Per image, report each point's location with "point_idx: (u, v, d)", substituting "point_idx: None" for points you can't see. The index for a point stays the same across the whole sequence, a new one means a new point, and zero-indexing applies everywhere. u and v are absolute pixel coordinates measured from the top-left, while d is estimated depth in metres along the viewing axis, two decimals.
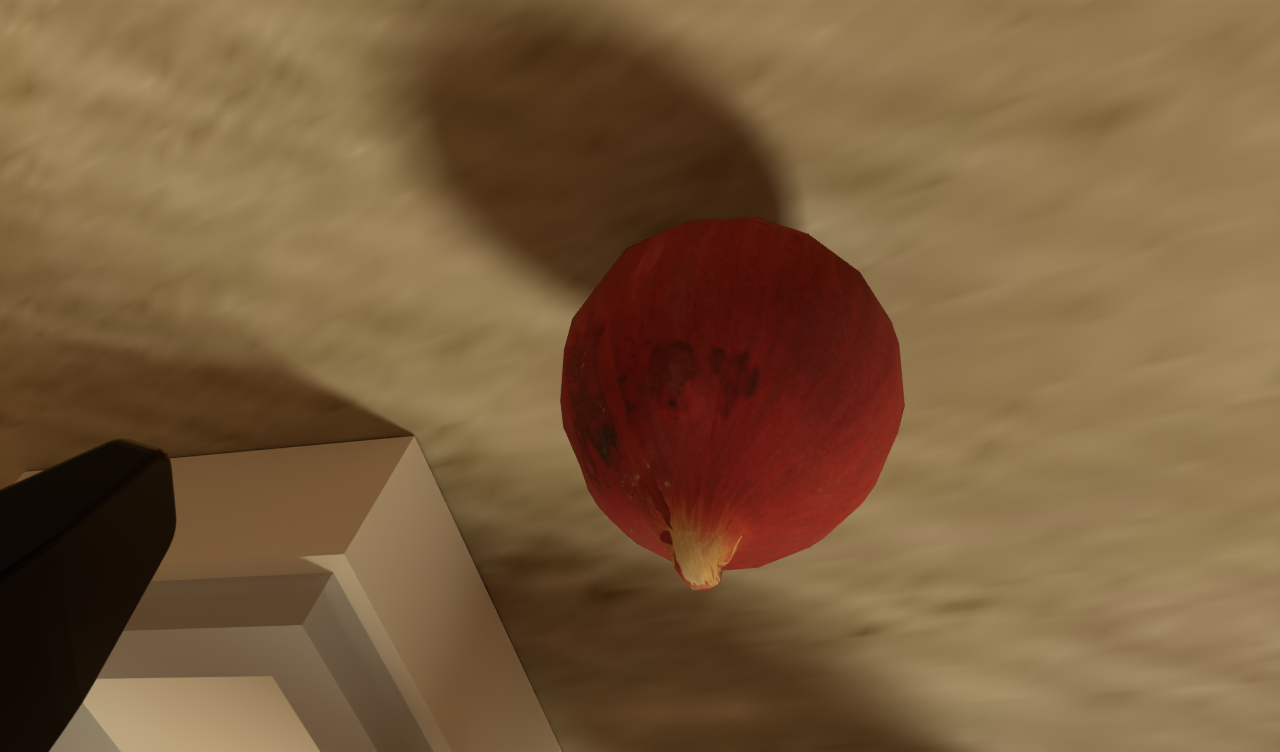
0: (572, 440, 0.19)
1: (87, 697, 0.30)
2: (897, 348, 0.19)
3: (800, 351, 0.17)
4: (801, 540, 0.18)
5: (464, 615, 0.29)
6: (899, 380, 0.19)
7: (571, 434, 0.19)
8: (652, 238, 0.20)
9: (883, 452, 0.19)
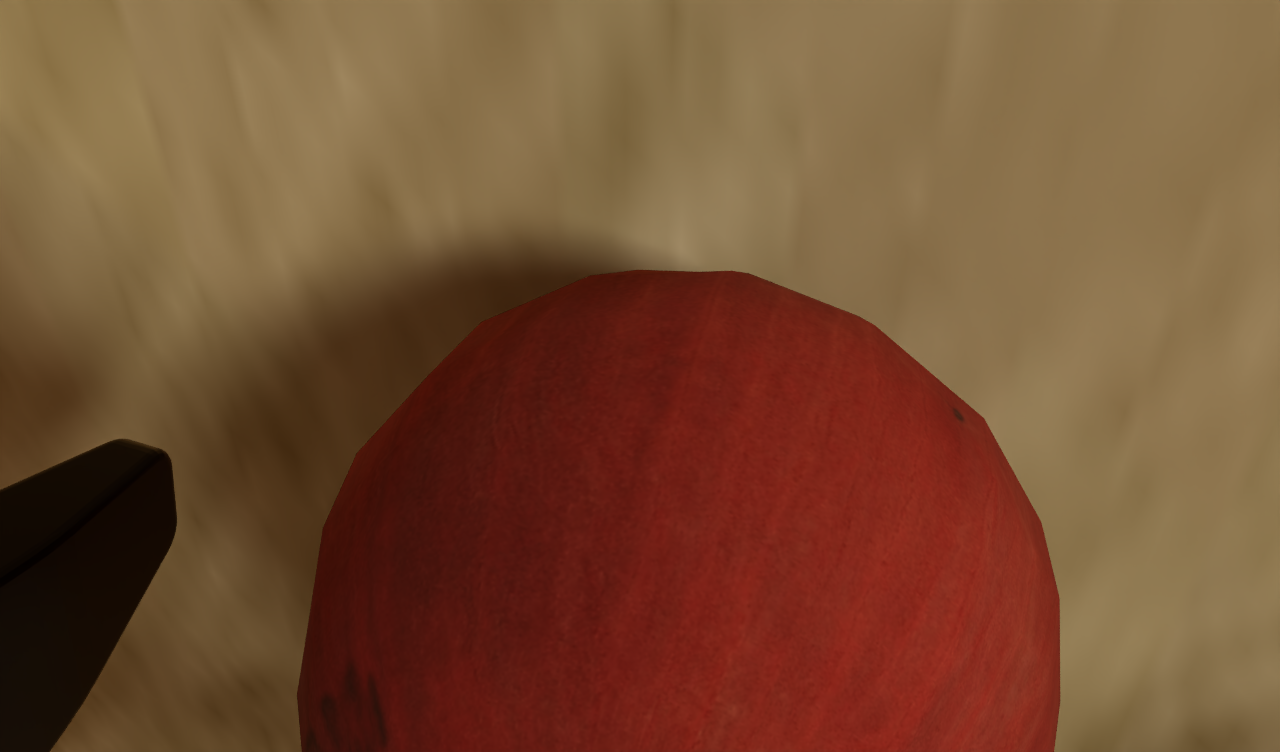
0: None
1: None
2: (704, 319, 0.08)
3: (417, 564, 0.07)
4: None
5: None
6: (776, 357, 0.08)
7: None
8: None
9: (825, 531, 0.07)
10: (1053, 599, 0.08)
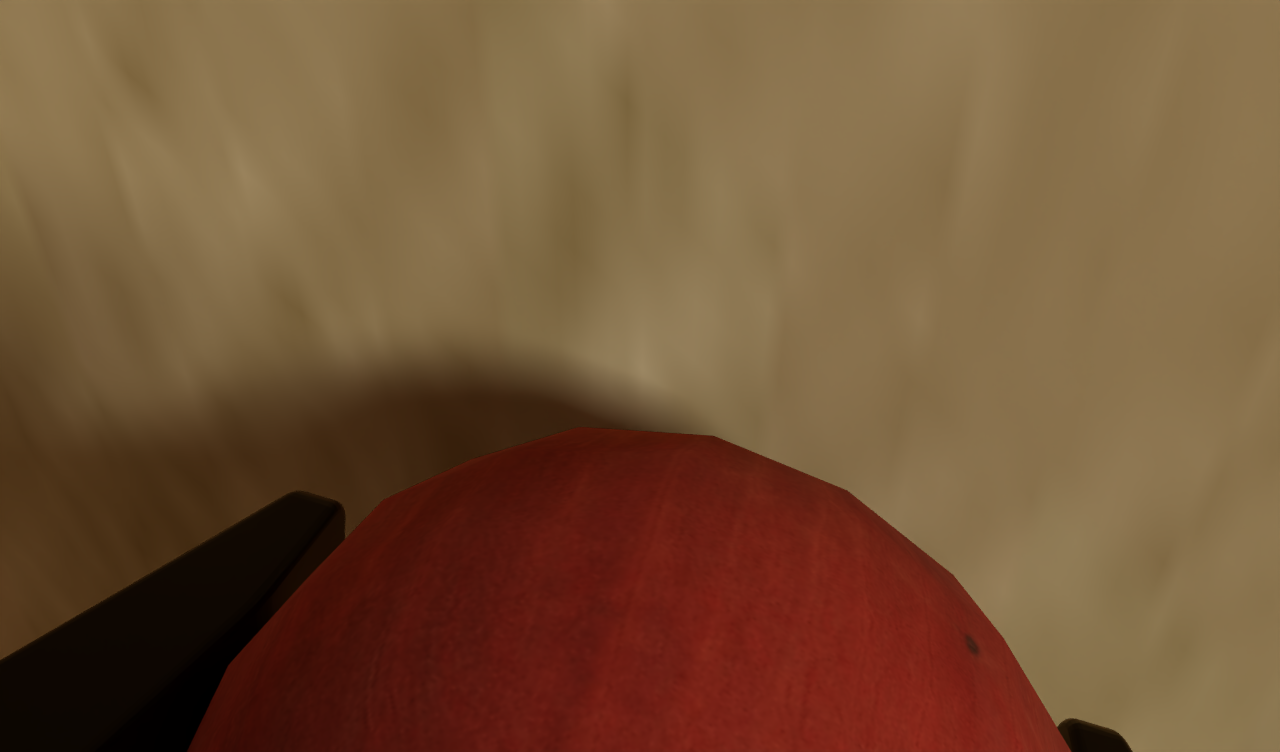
0: None
1: None
2: (646, 540, 0.06)
3: None
4: None
5: None
6: (738, 595, 0.06)
7: None
8: None
9: None
10: None
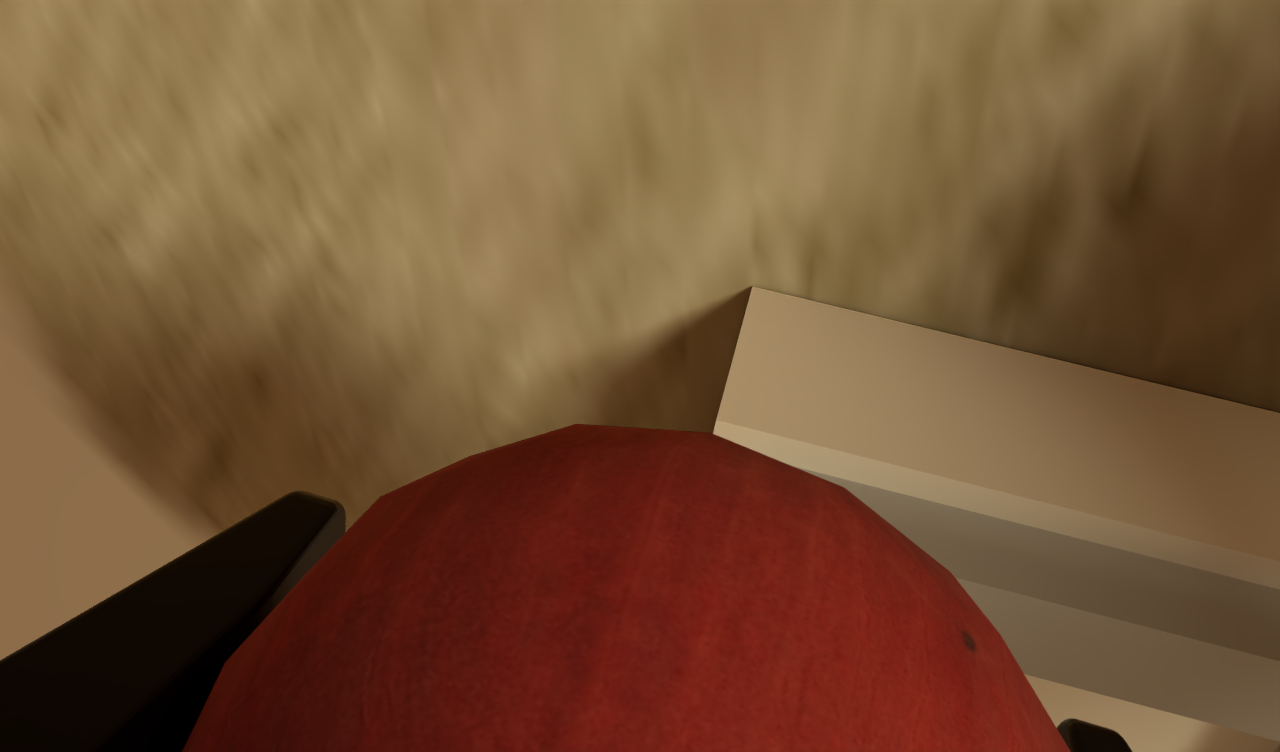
0: None
1: None
2: (643, 537, 0.06)
3: None
4: None
5: (1018, 391, 0.19)
6: (735, 592, 0.06)
7: None
8: None
9: None
10: None
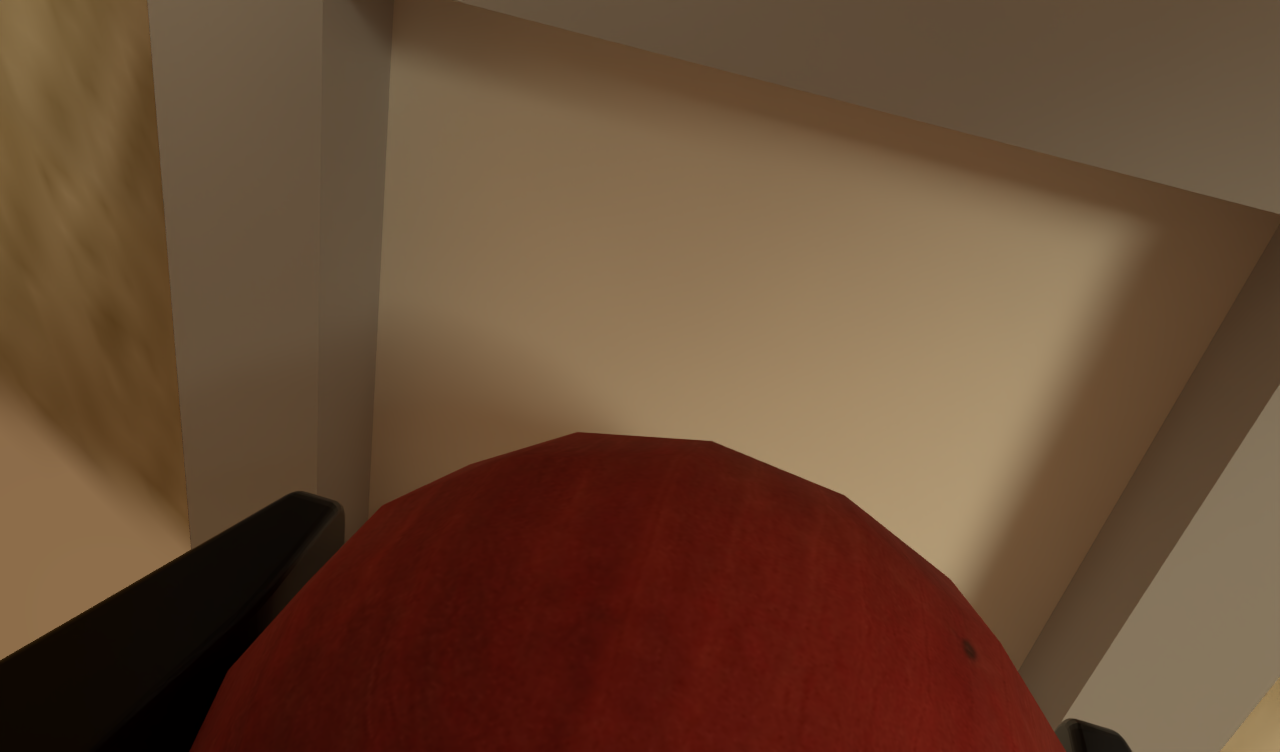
0: None
1: None
2: (645, 547, 0.06)
3: None
4: None
5: None
6: (736, 602, 0.06)
7: None
8: None
9: None
10: None
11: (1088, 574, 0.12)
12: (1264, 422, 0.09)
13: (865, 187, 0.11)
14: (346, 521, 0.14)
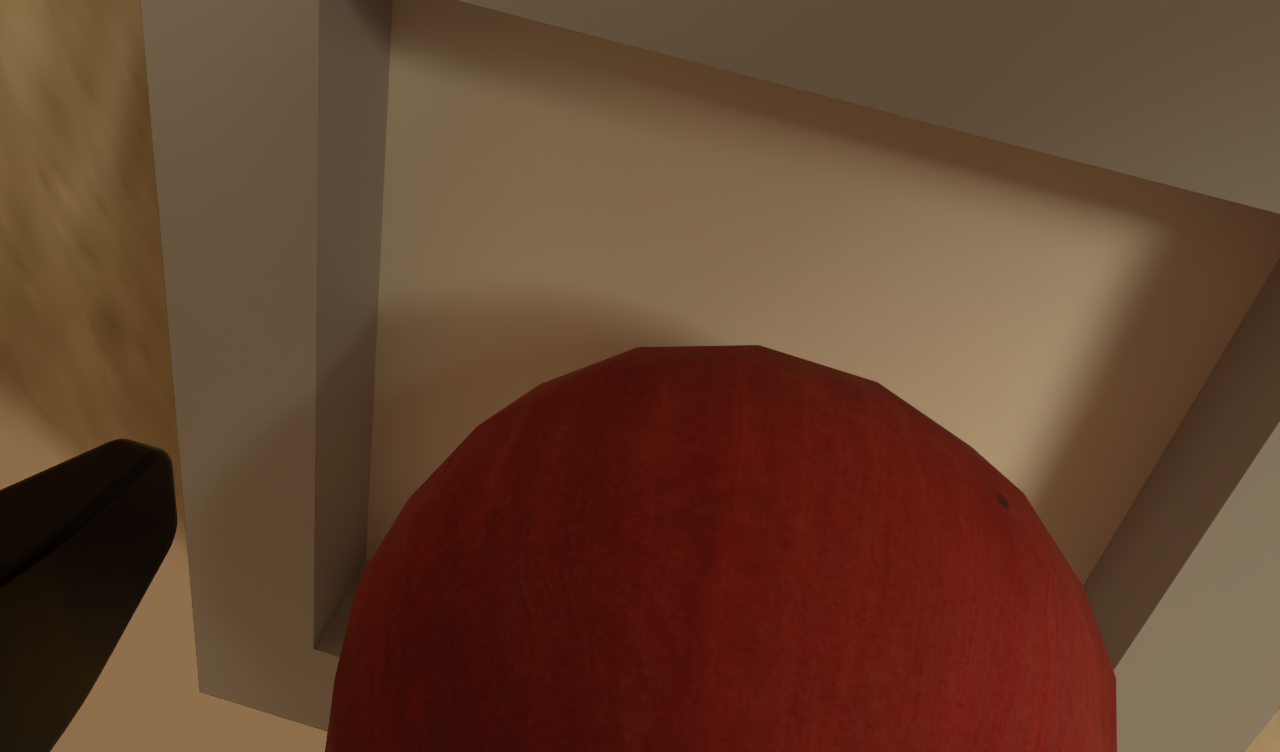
0: None
1: None
2: (736, 438, 0.07)
3: (459, 749, 0.07)
4: None
5: None
6: (818, 476, 0.07)
7: None
8: None
9: (899, 683, 0.06)
10: (1111, 682, 0.08)
11: (1098, 583, 0.12)
12: None
13: (873, 189, 0.10)
14: (345, 527, 0.13)
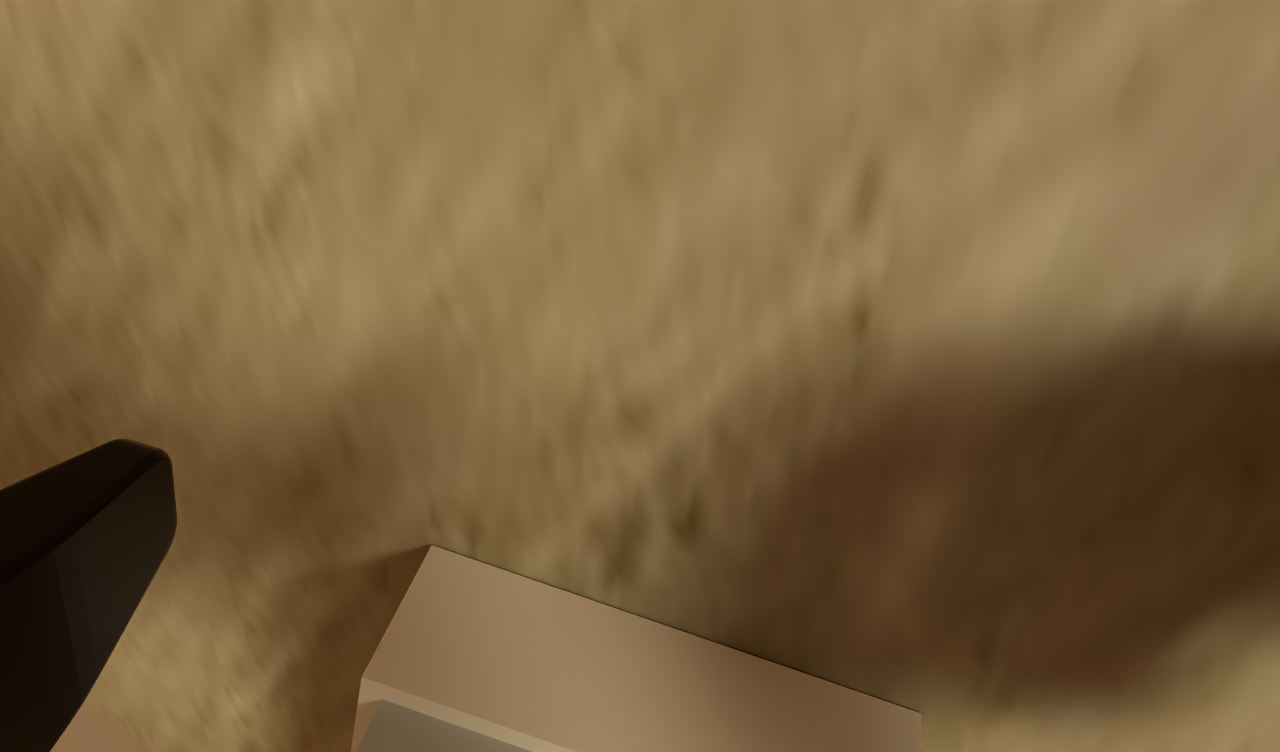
0: None
1: None
2: None
3: None
4: None
5: (607, 651, 0.26)
6: None
7: None
8: None
9: None
10: None
11: None
12: None
13: None
14: None
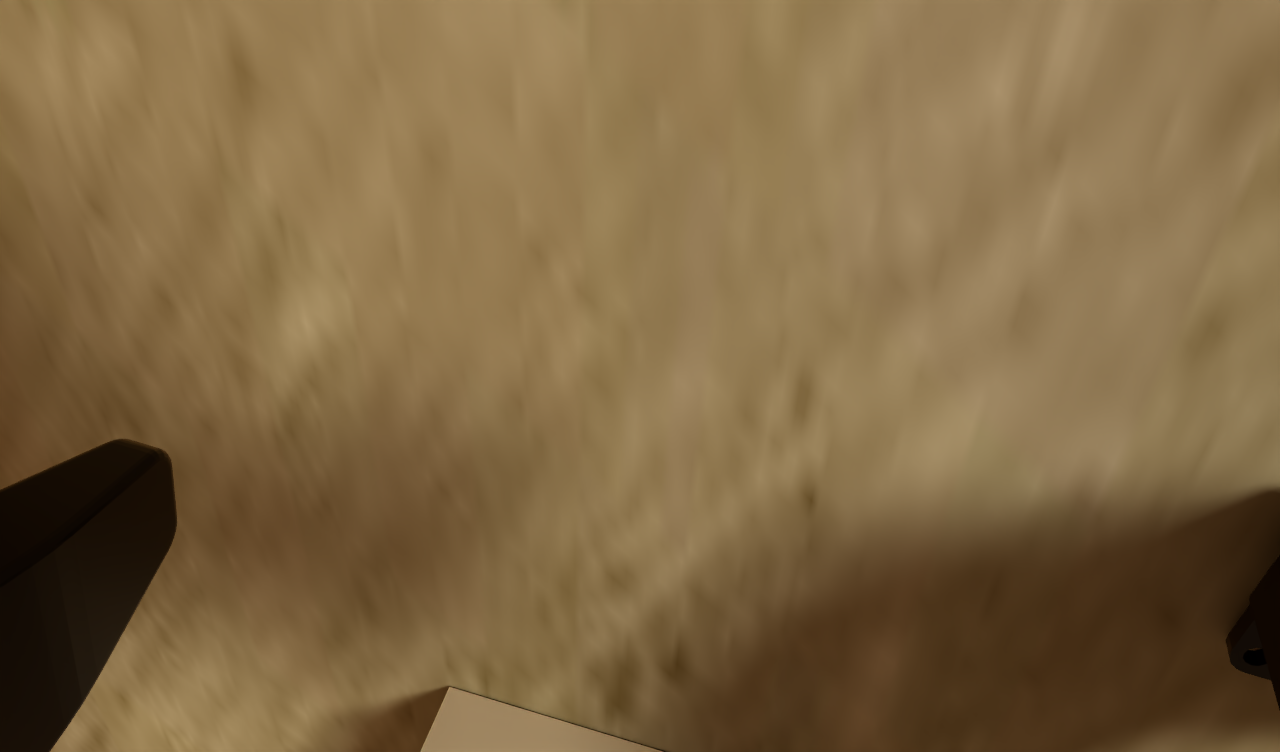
0: None
1: None
2: None
3: None
4: None
5: None
6: None
7: None
8: None
9: None
10: None
11: None
12: None
13: None
14: None
